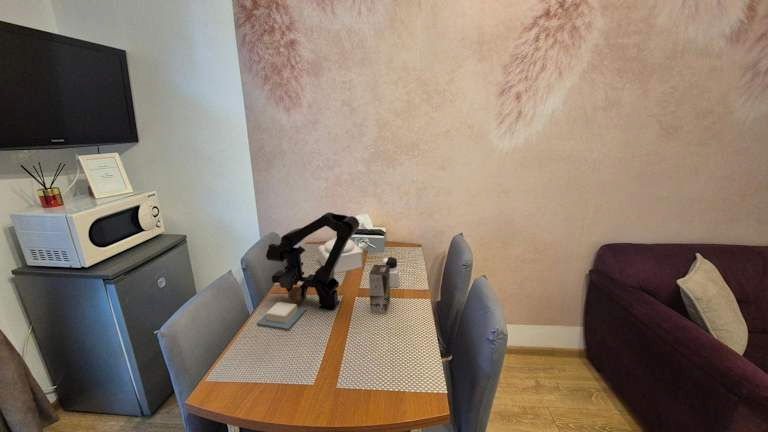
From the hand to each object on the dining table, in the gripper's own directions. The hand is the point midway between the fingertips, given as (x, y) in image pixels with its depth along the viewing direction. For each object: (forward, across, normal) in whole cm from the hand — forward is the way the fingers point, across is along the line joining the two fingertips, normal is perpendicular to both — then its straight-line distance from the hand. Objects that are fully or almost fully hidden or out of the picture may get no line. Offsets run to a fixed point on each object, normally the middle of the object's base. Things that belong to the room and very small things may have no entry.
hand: (297, 297), depth 133 cm
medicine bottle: (+2, +33, +23) cm, 40 cm away
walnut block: (+2, 0, 0) cm, 2 cm away
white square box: (+2, +3, +36) cm, 37 cm away
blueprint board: (+2, 0, -12) cm, 12 cm away
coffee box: (+2, +34, +4) cm, 34 cm away
